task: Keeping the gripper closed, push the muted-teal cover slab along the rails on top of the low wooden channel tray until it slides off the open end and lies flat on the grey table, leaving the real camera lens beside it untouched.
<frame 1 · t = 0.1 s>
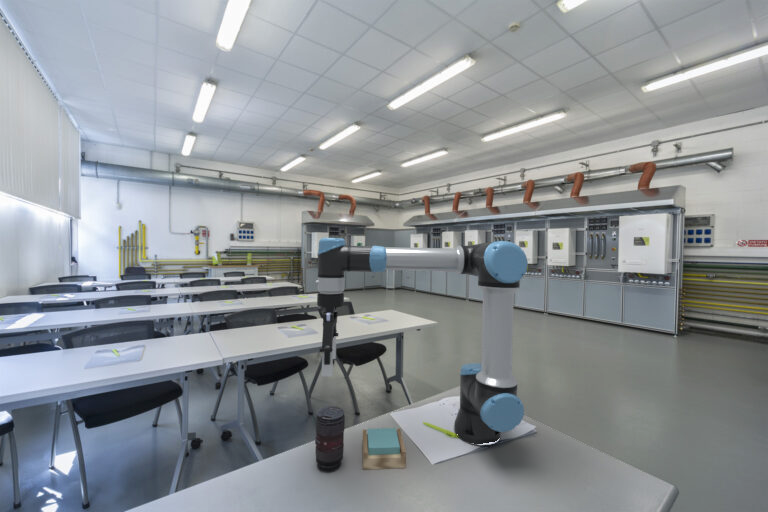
hand: (329, 366, 90), 28 cm above the table, fingers open, 13 cm apart
camera lens: (329, 465, 90), on the table
wooden channel tray: (382, 455, 94), on the table
cover plate: (382, 444, 95), point 3 cm above the table, touching wooden channel tray
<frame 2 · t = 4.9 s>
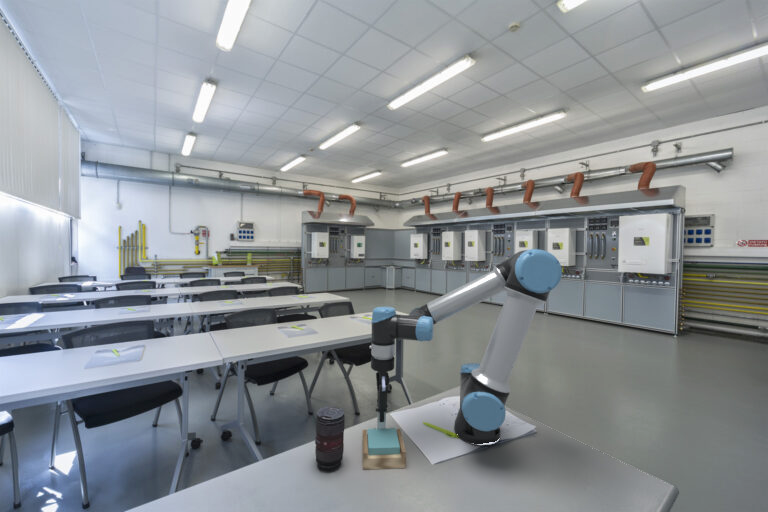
hand: (381, 429, 101), 4 cm above the table, fingers closed
cover plate: (382, 444, 95), point 3 cm above the table, touching gripper, wooden channel tray
everything else where it was.
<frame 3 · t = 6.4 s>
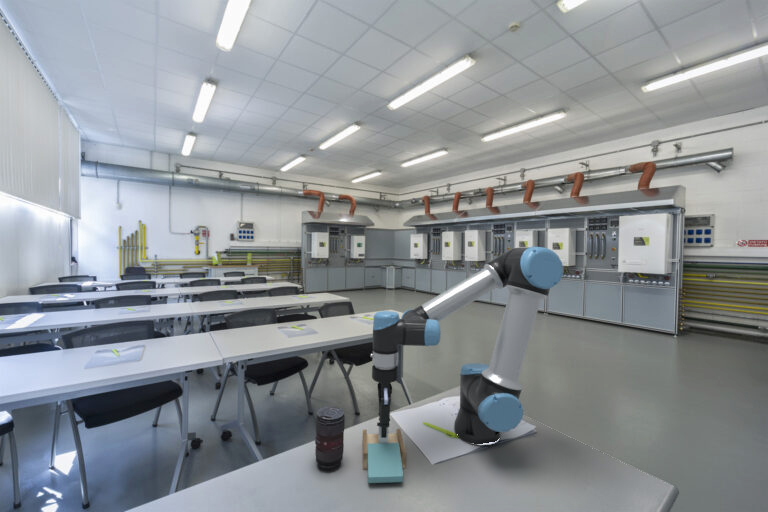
hand: (383, 445, 92), 4 cm above the table, fingers closed
cover plate: (384, 464, 87), point 2 cm above the table, tilted 17°, touching gripper, wooden channel tray
everything else where it was.
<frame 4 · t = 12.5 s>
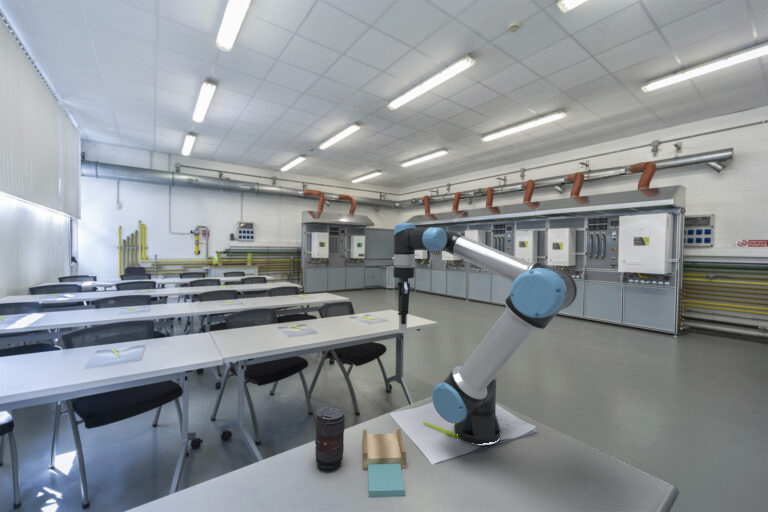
hand: (402, 332, 113), 32 cm above the table, fingers closed
cover plate: (385, 483, 83), on the table
everything else where it was.
at the end: cover plate inside the target area (1.8 cm from its centre), on the table; cover plate moved 12.2 cm from its start; cover plate touching table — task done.
